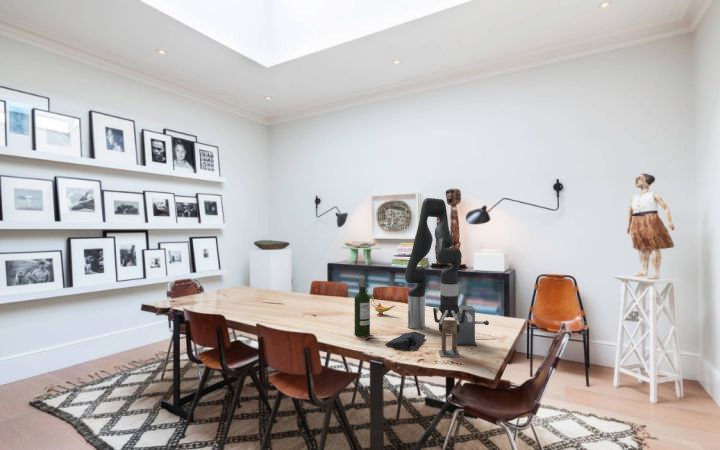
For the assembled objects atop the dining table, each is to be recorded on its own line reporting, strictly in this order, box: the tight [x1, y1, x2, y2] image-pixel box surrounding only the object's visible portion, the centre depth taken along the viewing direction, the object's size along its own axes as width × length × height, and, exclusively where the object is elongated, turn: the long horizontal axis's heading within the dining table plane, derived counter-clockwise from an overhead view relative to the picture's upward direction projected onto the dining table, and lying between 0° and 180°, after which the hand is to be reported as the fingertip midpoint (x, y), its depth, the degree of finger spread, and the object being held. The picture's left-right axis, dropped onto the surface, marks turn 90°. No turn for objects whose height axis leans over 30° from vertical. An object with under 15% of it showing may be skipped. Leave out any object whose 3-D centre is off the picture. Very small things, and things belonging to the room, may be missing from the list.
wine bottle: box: [354, 275, 371, 338], centre depth 189 cm, size 8×8×30 cm
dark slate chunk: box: [385, 331, 426, 352], centre depth 175 cm, size 15×22×5 cm
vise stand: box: [456, 304, 490, 347], centre depth 169 cm, size 16×19×17 cm
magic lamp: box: [370, 295, 396, 317], centre depth 229 cm, size 7×18×11 cm, turn 57°
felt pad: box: [438, 349, 461, 359], centre depth 160 cm, size 8×8×1 cm
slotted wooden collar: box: [441, 319, 458, 353], centre depth 160 cm, size 6×4×13 cm, turn 83°
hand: (449, 332), depth 160 cm, fingers closed on slotted wooden collar, 6 cm apart
